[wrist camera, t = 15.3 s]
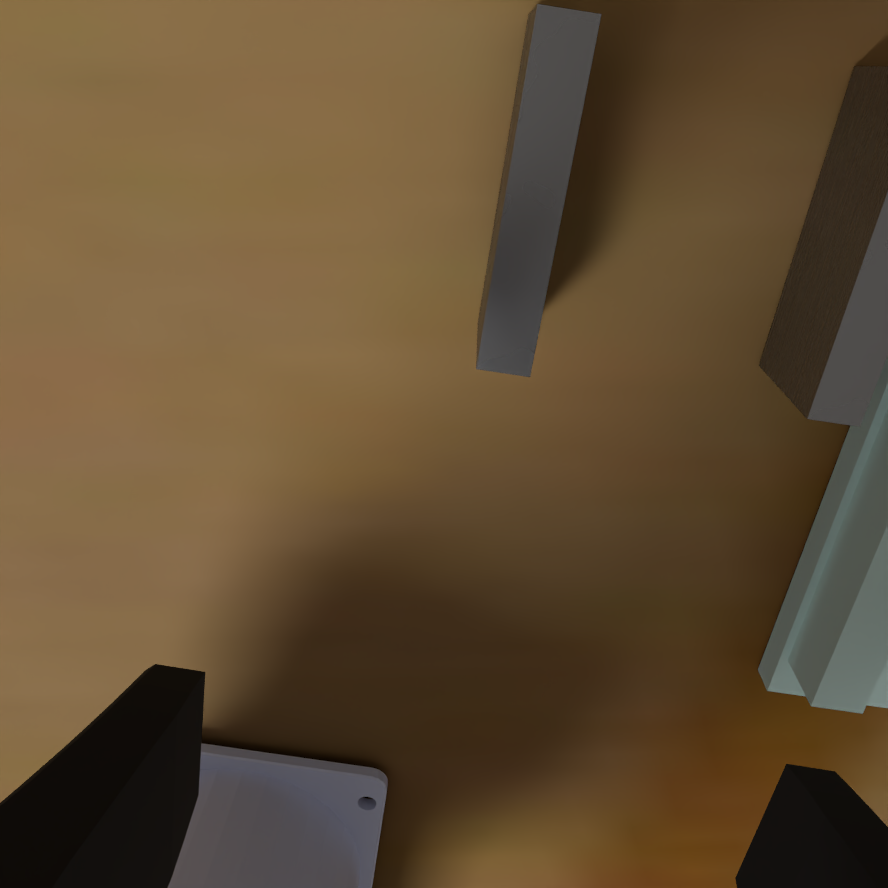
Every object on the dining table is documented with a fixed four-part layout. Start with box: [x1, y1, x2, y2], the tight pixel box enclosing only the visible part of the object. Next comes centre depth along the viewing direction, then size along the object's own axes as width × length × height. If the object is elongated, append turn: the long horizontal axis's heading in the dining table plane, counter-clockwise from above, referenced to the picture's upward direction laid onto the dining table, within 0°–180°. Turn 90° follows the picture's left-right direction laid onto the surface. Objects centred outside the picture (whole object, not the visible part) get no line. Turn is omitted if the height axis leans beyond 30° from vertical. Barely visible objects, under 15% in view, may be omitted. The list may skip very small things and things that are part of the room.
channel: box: [476, 4, 888, 427], centre depth 15 cm, size 6×7×3 cm
